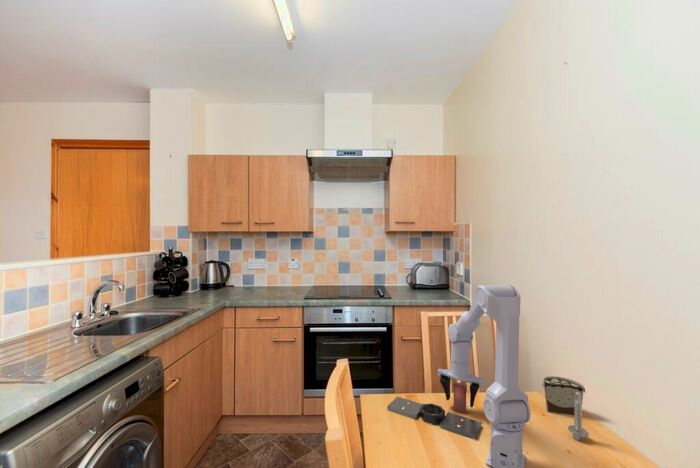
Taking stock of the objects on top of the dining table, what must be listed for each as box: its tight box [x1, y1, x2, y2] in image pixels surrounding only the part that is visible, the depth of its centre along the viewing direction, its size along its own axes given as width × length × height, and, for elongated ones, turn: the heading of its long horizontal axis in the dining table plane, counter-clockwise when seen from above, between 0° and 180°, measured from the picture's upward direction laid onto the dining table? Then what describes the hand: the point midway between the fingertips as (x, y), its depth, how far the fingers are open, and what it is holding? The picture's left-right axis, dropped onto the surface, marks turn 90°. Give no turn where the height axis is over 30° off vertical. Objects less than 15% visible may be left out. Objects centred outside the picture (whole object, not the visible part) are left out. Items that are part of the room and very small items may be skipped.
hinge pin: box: [453, 382, 467, 414], centre depth 103 cm, size 4×4×8 cm
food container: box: [541, 376, 586, 417], centre depth 104 cm, size 12×6×10 cm, turn 74°
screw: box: [567, 392, 590, 442], centre depth 89 cm, size 13×5×5 cm
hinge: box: [386, 396, 482, 440], centre depth 98 cm, size 8×28×2 cm, turn 57°
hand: (459, 402), depth 103 cm, fingers open, 7 cm apart
